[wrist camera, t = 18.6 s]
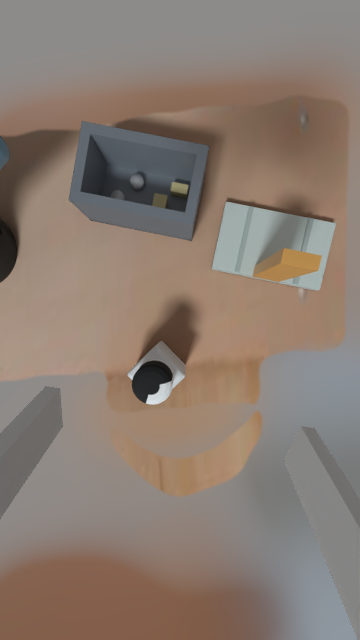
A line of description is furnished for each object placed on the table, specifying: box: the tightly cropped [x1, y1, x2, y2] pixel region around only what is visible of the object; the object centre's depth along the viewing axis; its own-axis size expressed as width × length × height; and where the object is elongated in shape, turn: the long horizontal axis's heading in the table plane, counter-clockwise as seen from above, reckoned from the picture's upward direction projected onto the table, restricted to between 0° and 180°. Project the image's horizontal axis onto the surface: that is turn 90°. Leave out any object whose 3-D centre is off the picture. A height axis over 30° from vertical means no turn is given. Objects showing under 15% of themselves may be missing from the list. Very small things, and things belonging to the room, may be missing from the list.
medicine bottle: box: [128, 341, 185, 404], centre depth 37 cm, size 7×7×12 cm
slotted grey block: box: [211, 202, 336, 291], centre depth 34 cm, size 20×12×14 cm, turn 78°
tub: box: [69, 121, 209, 241], centre depth 37 cm, size 20×12×8 cm, turn 78°
